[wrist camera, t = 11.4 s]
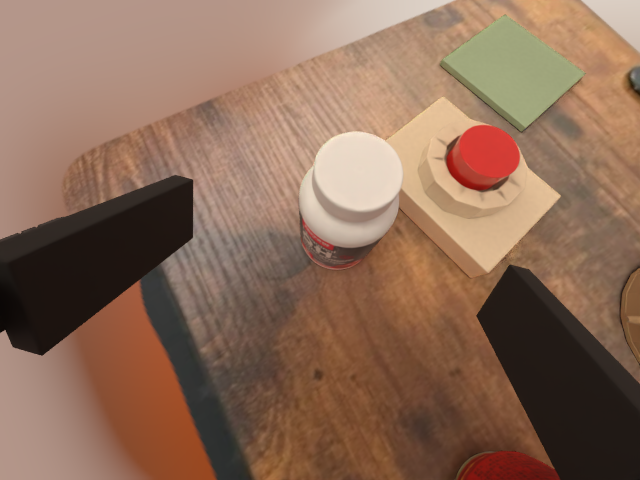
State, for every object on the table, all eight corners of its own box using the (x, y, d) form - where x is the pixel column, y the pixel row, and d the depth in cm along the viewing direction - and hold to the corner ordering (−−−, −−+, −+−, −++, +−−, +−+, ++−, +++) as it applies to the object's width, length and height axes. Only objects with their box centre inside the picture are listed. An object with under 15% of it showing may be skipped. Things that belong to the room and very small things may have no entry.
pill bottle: (294, 264, 21) (284, 213, 11) (307, 199, 22) (308, 106, 13) (366, 277, 20) (417, 237, 11) (374, 211, 22) (424, 127, 13)
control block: (360, 170, 23) (371, 139, 19) (431, 114, 25) (454, 76, 21) (470, 278, 21) (507, 268, 17) (538, 207, 23) (585, 184, 19)
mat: (439, 65, 27) (442, 59, 26) (501, 20, 29) (505, 13, 29) (521, 132, 25) (526, 127, 25) (580, 78, 27) (586, 73, 27)
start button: (434, 161, 20) (446, 146, 18) (470, 131, 20) (485, 114, 19) (478, 201, 19) (495, 189, 17) (513, 168, 20) (532, 154, 18)
